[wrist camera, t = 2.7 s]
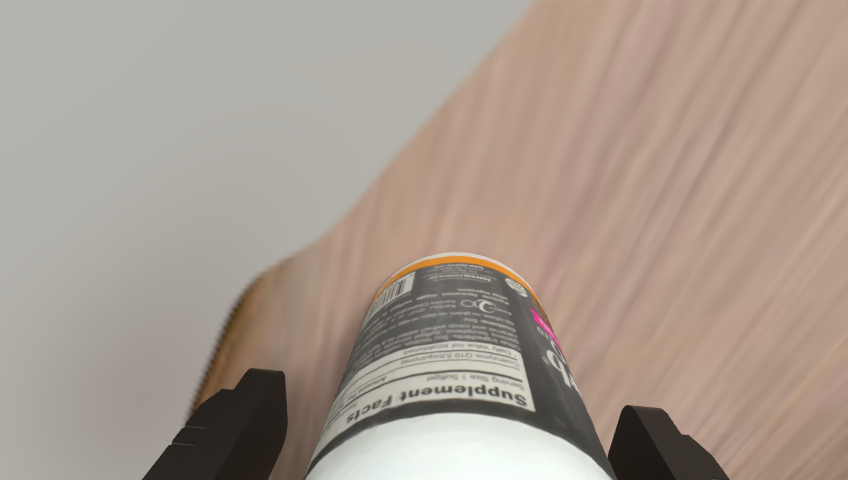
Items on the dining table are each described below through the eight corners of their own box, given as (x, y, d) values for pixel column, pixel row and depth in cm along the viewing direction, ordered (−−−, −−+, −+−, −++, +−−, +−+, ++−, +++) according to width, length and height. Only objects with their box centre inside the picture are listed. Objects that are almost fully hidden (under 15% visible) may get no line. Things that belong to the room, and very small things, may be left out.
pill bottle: (553, 382, 14) (765, 987, 5) (391, 405, 15) (289, 963, 5) (529, 227, 12) (812, 718, 3) (345, 263, 13) (63, 738, 3)
